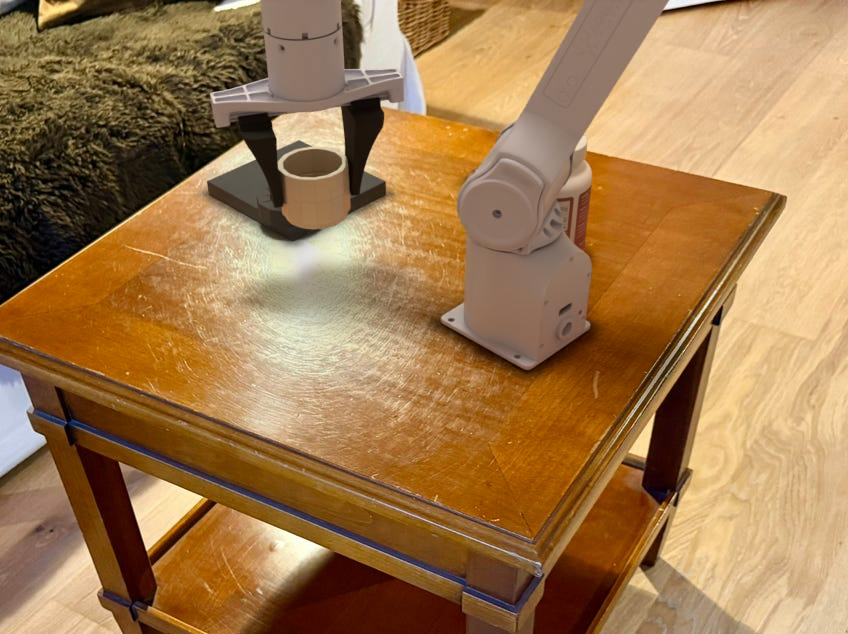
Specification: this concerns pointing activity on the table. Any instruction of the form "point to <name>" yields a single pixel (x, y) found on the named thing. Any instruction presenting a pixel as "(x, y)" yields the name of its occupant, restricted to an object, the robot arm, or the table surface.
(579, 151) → the pill bottle
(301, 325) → the table surface
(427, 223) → the table surface
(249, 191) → the scale
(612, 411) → the table surface
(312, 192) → the beige hollow cylinder
